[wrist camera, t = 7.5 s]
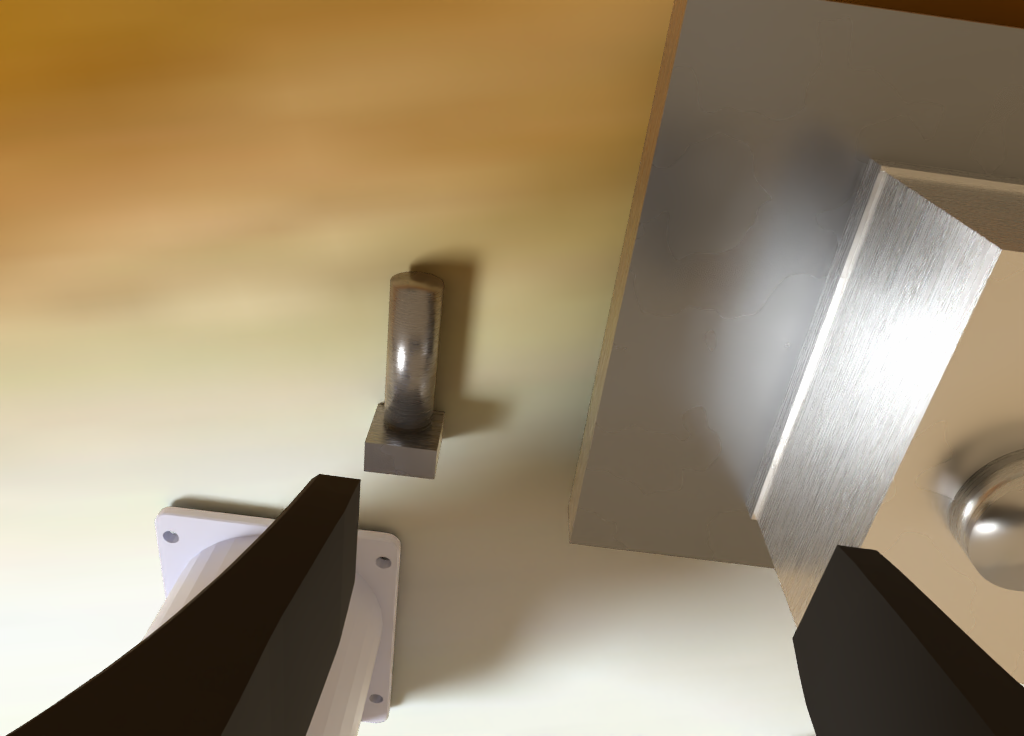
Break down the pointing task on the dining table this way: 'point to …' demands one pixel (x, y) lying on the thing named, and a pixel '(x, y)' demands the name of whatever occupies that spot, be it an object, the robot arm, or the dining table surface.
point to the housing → (912, 404)
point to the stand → (760, 239)
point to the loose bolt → (409, 382)
